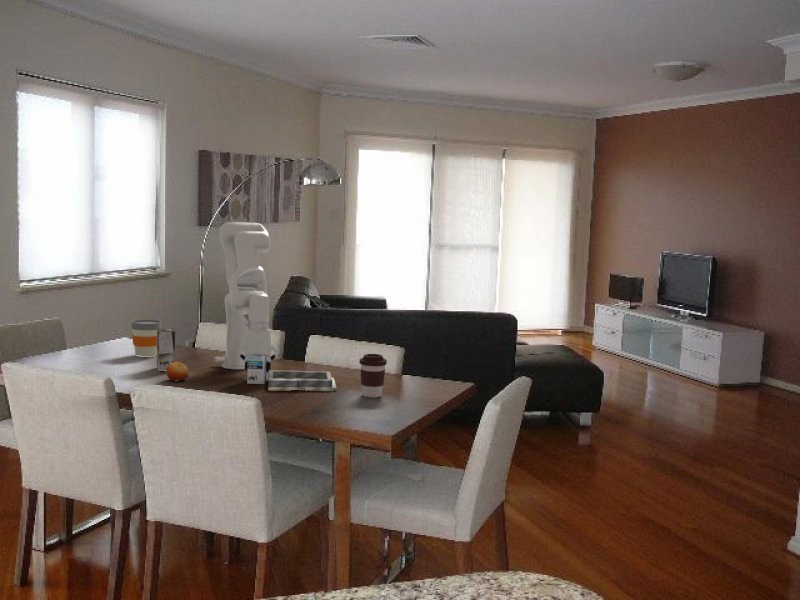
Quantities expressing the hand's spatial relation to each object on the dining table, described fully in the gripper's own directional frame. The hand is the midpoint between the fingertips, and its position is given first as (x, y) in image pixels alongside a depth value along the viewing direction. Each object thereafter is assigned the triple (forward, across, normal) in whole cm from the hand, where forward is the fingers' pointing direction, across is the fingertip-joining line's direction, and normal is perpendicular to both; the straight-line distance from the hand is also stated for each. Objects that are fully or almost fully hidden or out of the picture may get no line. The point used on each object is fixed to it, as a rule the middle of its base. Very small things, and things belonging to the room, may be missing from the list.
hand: (257, 371), depth 310 cm
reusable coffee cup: (+4, -49, +48) cm, 69 cm away
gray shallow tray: (+4, +17, -6) cm, 18 cm away
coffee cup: (+4, +42, -22) cm, 48 cm away
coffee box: (+4, -37, +20) cm, 42 cm away
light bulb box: (+4, 0, 0) cm, 4 cm away
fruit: (+4, -30, 0) cm, 30 cm away
